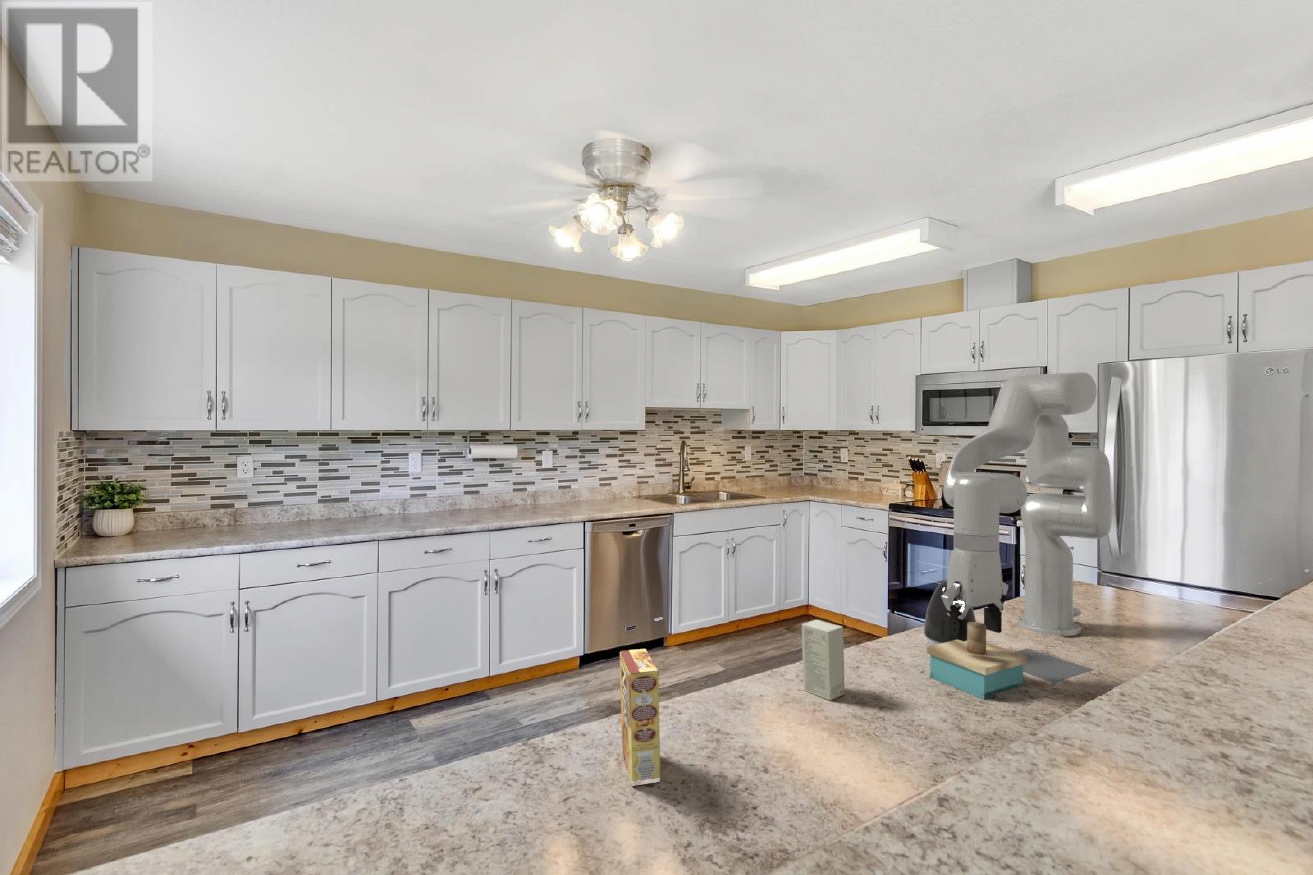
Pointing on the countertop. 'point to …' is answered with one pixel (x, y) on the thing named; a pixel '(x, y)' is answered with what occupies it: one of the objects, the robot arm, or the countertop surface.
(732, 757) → the countertop surface
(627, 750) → the candy box
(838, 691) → the skincare box
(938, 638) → the pump dispenser
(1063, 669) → the mat
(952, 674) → the dish
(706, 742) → the countertop surface
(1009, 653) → the lid
